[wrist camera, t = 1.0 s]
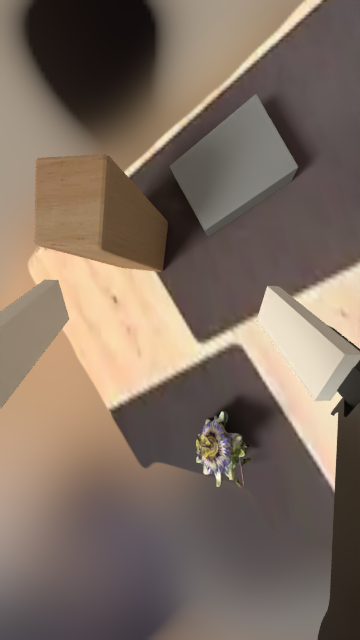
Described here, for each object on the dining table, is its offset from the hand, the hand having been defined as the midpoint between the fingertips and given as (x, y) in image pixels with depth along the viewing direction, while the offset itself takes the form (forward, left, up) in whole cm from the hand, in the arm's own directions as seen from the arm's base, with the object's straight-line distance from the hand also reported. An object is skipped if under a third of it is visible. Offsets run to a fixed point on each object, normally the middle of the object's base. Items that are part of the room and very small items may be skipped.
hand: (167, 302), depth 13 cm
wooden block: (+7, -17, -28) cm, 33 cm away
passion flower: (+11, +26, -28) cm, 40 cm away
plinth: (-13, -17, -27) cm, 35 cm away
